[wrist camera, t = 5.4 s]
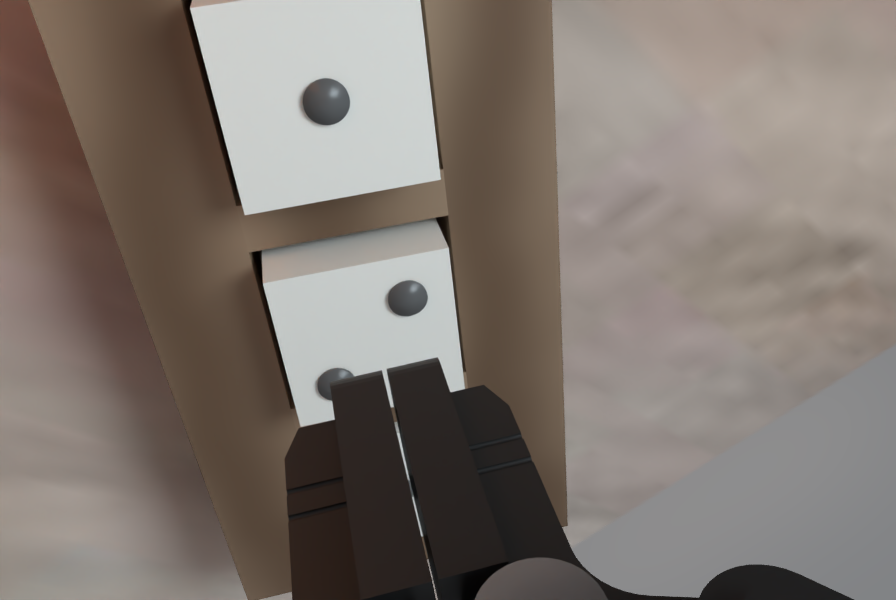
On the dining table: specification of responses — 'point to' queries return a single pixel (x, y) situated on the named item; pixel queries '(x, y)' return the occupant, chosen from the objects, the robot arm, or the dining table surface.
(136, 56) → the button panel
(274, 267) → the button two
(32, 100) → the dining table surface
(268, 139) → the button one
